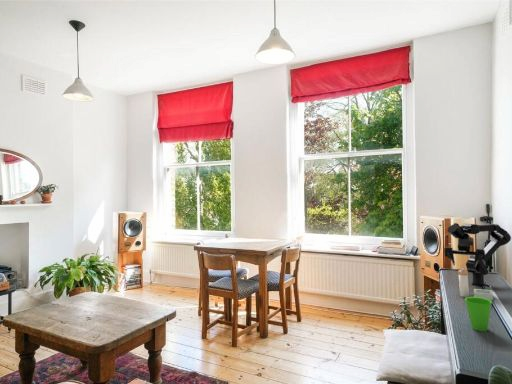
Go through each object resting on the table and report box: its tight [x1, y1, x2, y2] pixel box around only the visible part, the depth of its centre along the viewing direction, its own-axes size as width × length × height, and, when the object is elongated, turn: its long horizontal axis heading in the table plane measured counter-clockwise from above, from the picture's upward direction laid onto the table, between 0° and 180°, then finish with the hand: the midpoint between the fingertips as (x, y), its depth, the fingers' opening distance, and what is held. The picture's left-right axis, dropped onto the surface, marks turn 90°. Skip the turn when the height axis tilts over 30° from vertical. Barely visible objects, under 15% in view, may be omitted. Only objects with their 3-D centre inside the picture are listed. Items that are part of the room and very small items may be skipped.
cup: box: [464, 296, 493, 332], centre depth 129 cm, size 9×9×11 cm
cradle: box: [473, 288, 494, 302], centre depth 165 cm, size 8×8×3 cm
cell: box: [457, 268, 470, 298], centre depth 169 cm, size 4×4×14 cm
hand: (464, 265), depth 175 cm, fingers open, 9 cm apart
